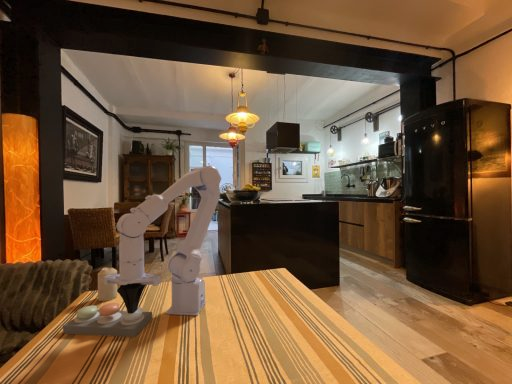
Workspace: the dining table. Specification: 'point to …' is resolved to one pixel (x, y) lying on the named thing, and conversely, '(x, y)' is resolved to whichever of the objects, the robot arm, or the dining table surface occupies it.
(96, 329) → the button board
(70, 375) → the dining table surface
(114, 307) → the terracotta button
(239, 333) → the dining table surface
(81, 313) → the green button
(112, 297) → the candle
